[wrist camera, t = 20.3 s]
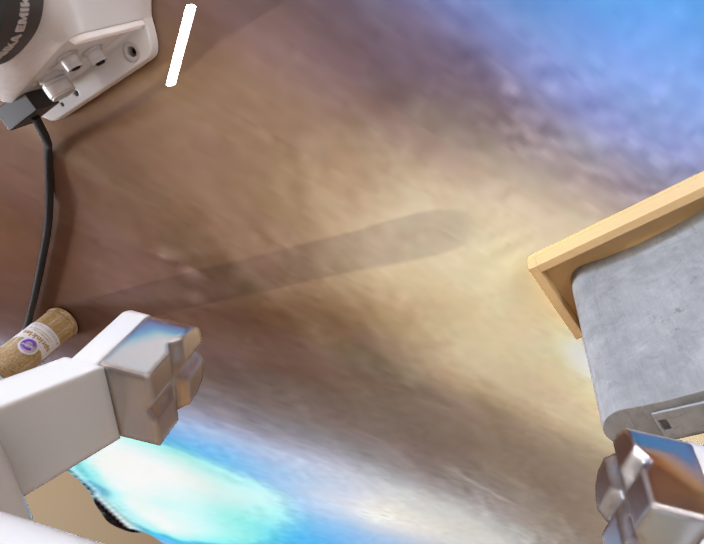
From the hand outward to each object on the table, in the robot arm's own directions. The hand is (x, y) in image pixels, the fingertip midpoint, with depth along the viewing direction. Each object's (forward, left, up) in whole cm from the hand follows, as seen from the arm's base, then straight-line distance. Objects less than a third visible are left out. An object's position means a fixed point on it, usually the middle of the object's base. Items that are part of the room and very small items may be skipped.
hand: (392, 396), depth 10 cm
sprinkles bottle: (-58, +5, -36) cm, 69 cm away
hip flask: (+5, -21, -35) cm, 41 cm away
